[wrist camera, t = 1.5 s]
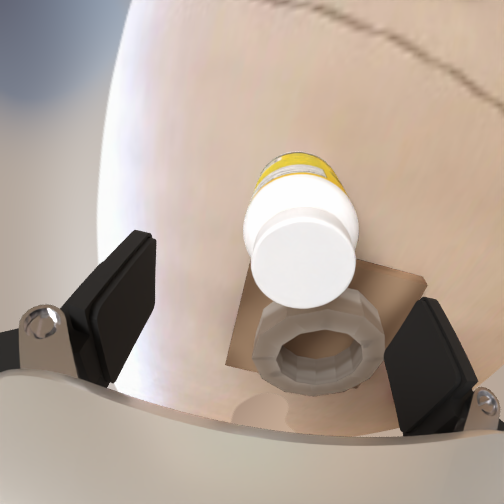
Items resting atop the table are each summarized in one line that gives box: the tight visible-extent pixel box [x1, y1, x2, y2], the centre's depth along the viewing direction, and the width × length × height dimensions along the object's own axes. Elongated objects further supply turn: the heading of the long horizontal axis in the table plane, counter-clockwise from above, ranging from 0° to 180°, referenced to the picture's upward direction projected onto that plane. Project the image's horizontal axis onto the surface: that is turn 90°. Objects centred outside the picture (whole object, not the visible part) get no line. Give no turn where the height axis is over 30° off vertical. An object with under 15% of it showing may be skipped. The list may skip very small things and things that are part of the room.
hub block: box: [225, 259, 428, 396], centre depth 23 cm, size 14×14×4 cm
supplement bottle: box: [243, 151, 359, 309], centre depth 15 cm, size 5×5×10 cm
